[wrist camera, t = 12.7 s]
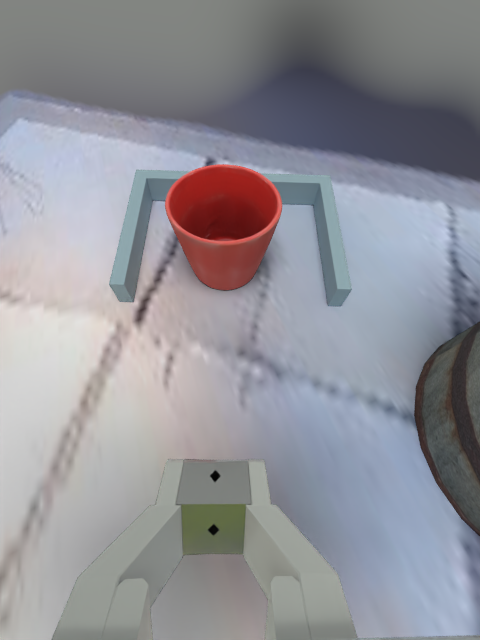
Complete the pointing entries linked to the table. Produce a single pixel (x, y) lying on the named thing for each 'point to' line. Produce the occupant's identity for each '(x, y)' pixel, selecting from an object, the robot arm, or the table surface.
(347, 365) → the table surface
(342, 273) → the tray frame
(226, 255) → the flower pot
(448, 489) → the barrel
